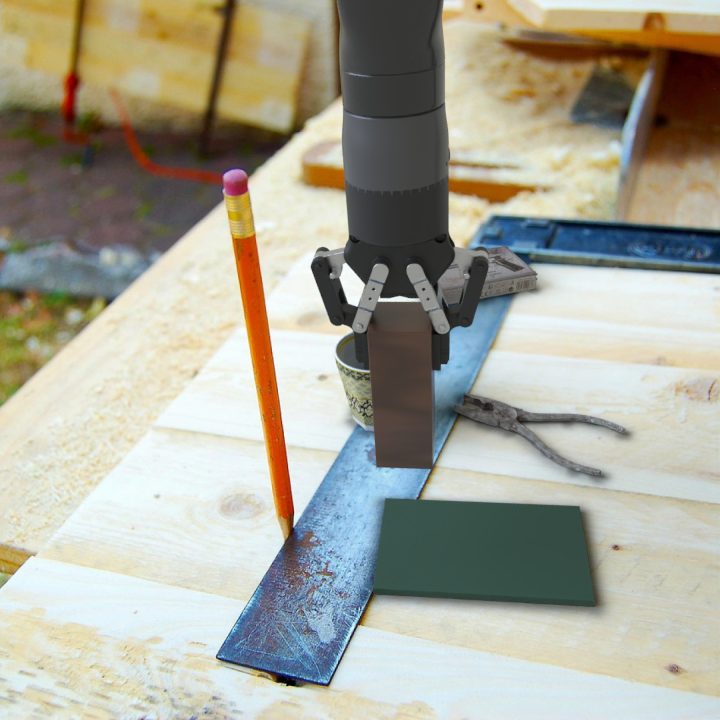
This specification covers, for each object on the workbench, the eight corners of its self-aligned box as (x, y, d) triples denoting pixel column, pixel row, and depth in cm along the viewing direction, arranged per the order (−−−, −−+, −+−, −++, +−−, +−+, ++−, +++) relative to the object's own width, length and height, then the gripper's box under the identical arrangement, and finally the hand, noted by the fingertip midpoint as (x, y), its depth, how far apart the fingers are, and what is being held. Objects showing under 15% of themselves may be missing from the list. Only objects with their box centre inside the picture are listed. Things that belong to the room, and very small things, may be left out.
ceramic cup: (324, 413, 95) (317, 345, 90) (388, 383, 100) (385, 317, 94) (387, 466, 86) (383, 395, 81) (454, 431, 91) (455, 361, 85)
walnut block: (435, 433, 71) (433, 301, 63) (433, 469, 67) (431, 332, 59) (381, 432, 72) (373, 301, 64) (376, 467, 67) (367, 332, 60)
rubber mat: (578, 511, 79) (579, 505, 78) (594, 606, 69) (595, 600, 68) (385, 503, 81) (385, 497, 81) (373, 594, 72) (372, 588, 71)
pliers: (617, 474, 81) (437, 438, 88) (616, 480, 82) (437, 443, 89) (627, 421, 89) (460, 390, 96) (626, 427, 89) (460, 396, 96)
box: (407, 279, 123) (407, 261, 121) (505, 260, 127) (506, 243, 125) (433, 310, 114) (434, 292, 112) (537, 290, 118) (539, 272, 117)
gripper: (287, 188, 53) (311, 389, 62) (499, 185, 51) (491, 393, 60) (307, 152, 59) (326, 340, 68) (496, 148, 57) (489, 342, 66)
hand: (403, 364), depth 64 cm, fingers closed on walnut block, 5 cm apart
